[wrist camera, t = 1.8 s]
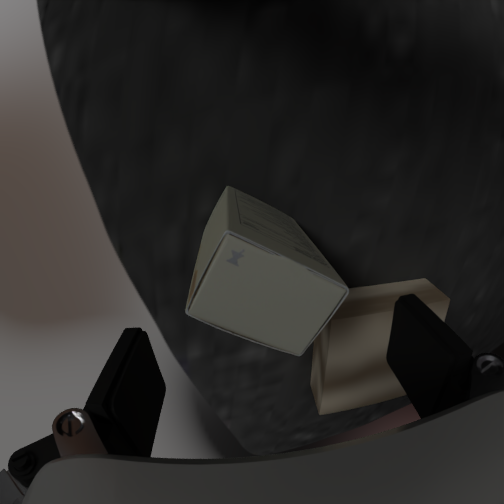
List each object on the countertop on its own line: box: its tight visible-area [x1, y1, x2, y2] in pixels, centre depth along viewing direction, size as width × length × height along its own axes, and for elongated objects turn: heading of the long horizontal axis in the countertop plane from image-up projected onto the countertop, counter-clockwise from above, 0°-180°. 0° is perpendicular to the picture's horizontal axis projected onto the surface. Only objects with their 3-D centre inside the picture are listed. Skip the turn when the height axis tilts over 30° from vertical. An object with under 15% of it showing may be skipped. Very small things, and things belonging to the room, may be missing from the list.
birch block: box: [310, 278, 450, 415], centre depth 26 cm, size 12×12×5 cm
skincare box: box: [185, 186, 349, 356], centre depth 18 cm, size 6×4×12 cm
